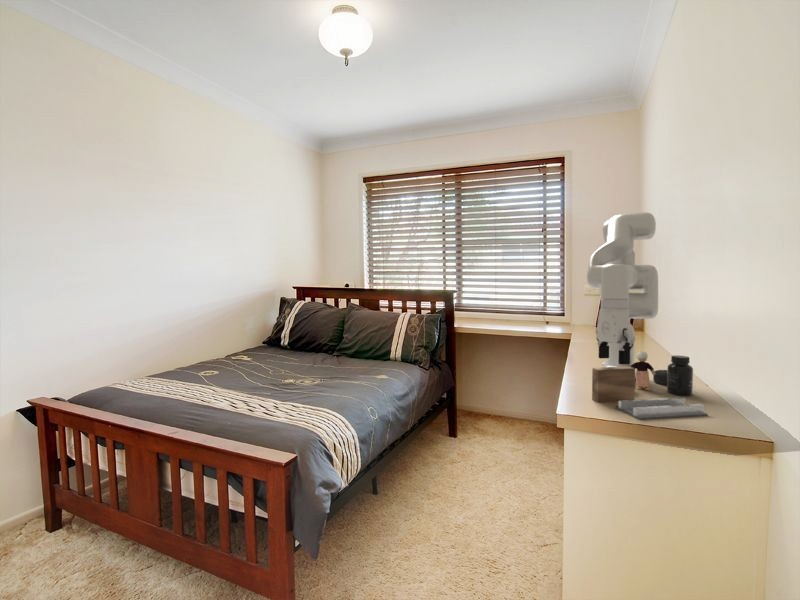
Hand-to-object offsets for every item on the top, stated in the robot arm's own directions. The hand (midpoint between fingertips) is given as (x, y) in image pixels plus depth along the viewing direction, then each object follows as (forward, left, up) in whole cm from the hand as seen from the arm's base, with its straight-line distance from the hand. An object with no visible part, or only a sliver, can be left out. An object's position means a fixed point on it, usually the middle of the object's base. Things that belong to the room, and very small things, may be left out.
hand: (613, 360), depth 125 cm
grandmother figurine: (-11, +17, -13) cm, 24 cm away
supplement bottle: (-4, +25, -13) cm, 29 cm away
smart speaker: (-16, +31, -13) cm, 37 cm away
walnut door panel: (-1, 0, -12) cm, 12 cm away
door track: (+11, +6, -12) cm, 18 cm away
